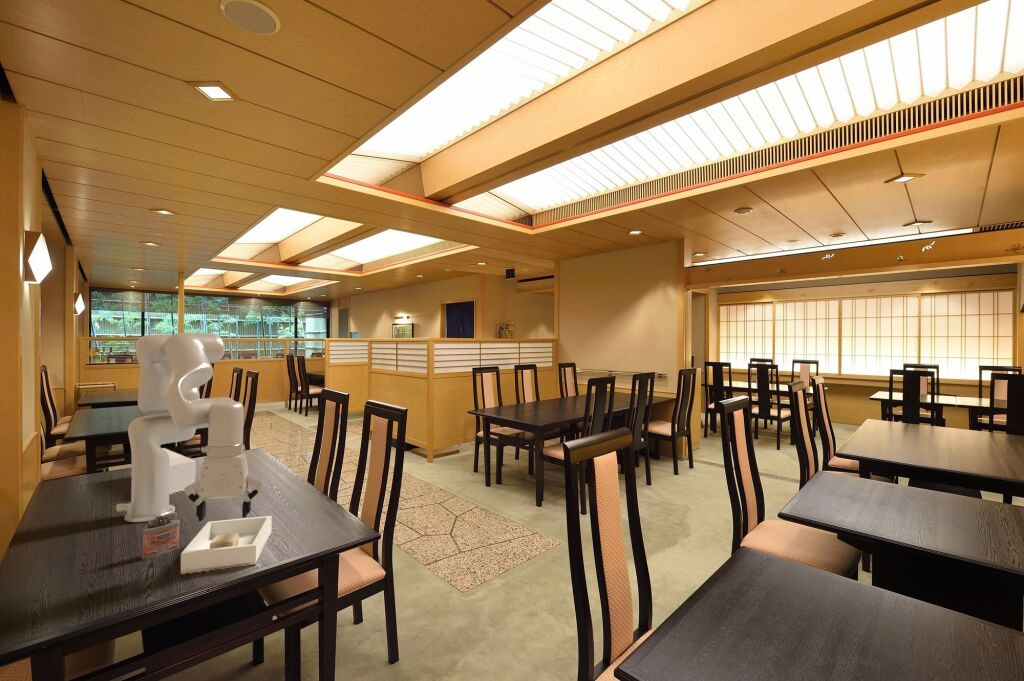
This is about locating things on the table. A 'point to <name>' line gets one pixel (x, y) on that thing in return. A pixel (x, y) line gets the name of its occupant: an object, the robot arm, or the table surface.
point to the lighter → (160, 536)
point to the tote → (247, 552)
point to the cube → (224, 541)
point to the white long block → (180, 471)
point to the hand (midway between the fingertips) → (223, 517)
